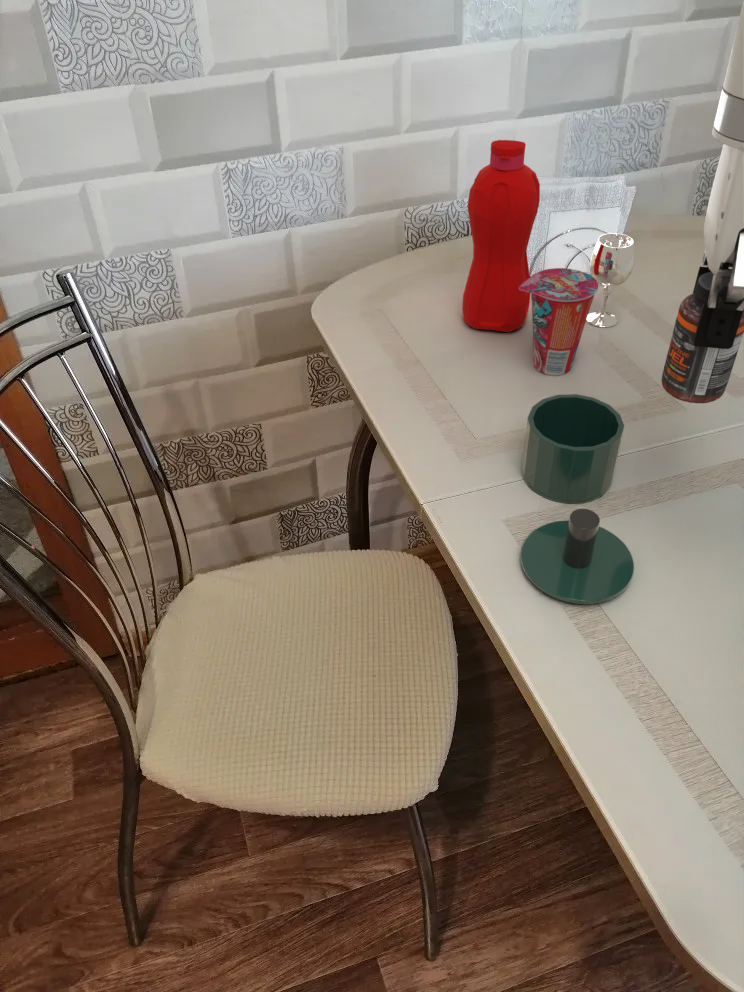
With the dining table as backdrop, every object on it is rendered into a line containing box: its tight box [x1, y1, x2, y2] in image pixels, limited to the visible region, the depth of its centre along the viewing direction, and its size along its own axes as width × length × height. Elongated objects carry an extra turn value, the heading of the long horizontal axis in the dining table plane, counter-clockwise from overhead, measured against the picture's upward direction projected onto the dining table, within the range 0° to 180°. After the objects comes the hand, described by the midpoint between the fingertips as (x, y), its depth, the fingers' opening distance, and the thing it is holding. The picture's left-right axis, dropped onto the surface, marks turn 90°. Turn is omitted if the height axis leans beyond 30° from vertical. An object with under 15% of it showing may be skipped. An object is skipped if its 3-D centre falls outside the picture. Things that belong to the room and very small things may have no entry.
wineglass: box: [586, 232, 635, 328], centre depth 111 cm, size 6×6×12 cm
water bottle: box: [461, 139, 541, 333], centre depth 109 cm, size 9×11×25 cm
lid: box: [520, 508, 635, 605], centre depth 78 cm, size 11×11×7 cm
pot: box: [521, 393, 625, 504], centre depth 88 cm, size 10×10×8 cm
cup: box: [519, 267, 599, 376], centre depth 103 cm, size 9×8×12 cm
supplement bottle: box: [661, 272, 744, 404], centre depth 73 cm, size 6×6×11 cm
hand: (710, 325), depth 72 cm, fingers closed on supplement bottle, 6 cm apart
